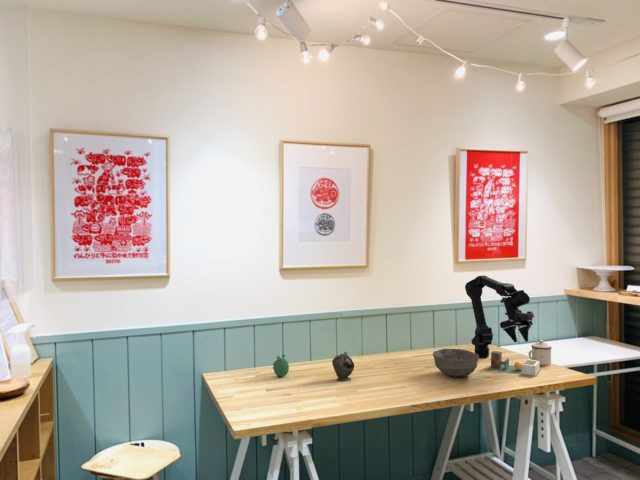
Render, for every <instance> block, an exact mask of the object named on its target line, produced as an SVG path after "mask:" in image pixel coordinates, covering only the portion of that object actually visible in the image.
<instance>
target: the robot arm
mask: <svg viewBox="0 0 640 480" xmlns="http://www.w3.org/2000/svg"><path fill="white" fill-rule="evenodd" d="M485 287H487V288H489V289H492V290H493V291H495V293H496V294H497V295H499V296H500V297H502V298H501V299H500V301H499V302H500V303H501V304H502V303H503V305H504V309H505V311H506V312H504V315H505V316H507V320H503V321H501V322H500V324H499V327H500V329H502V331H504V332H505V333H506V334H507V335H508V336H509V338H511V340H512V341H513V342H514V343H517V342H518V339H517V332H516V329H518V331H519V333H520V334H521V337H522V338H523V340H524V341H525V342H526V343H528V342H529V331H530V329H531V328H532V326H533V325H534V323H533V318H535V315H534V313H533V311H531V310H530V311H528V310H527V311H526V312H522V310H521V309H520V308H519V307H523V306H525V305H528V304H529V303H530V301H531V299H530V296H529V294H528V293H527V292H525V291H524V290H523V289H520V290H518V289H517V288H516V287H515V285H514V284H512V283H507V282H506V283H505V282H501V281H498V280H495V279H494V278H490V277H489V276H487V275H478V276H475V278H473V279H471V280H469V281H467V283H466V284H465V285H464V288H465V293H466V295H467V296H468V298H469V299H470V300H471V304H472V305H471V306H472V310H473V315H474V319H475V325H476V327H475V331H474V336H473V338H472V339H471V344H472V345H473V346H474V353H476V354H477V355H479V358H482V359H487V358H488V357H489V356H490V347H489V345H492V341H493V337H494V333H493V331H492V327H489V326H488V325H487V321H486V317H485V312H484V308H483V302H482V299H481V297H482V295H483V289H484V288H485Z"/></svg>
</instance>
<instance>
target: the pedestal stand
mask: <svg viewBox="0 0 640 480" xmlns="http://www.w3.org/2000/svg"><path fill="white" fill-rule="evenodd" d="M502 353H503V352H502V351H497V350H493V351H491V352H490V368H491V367H493V368H500V367H501V366H502V365H504V370H506V369H507V368H508V367H509V365H510V358H506V359H504V360H503V359H502V356H503V354H502Z"/></svg>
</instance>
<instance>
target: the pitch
mask: <svg viewBox="0 0 640 480" xmlns="http://www.w3.org/2000/svg"><path fill="white" fill-rule="evenodd" d="M488 371H491V372H499V373H500V372H501V373H508V374H514V375H520V376H526V377H527V376H528V377H537V376H538V375H539V374H540V372H541V371H542V369H540V370H539V372H538V373H537V374H536V376H534V375H527V374H523V369H522V370H516V369H515V368H514V365H510V364H509V367H508V368H507V369H506V370H504V365H502V366H501V367H500V368H493V367H491V366H490V368H489V369H488Z"/></svg>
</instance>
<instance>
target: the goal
mask: <svg viewBox="0 0 640 480" xmlns="http://www.w3.org/2000/svg"><path fill="white" fill-rule="evenodd" d="M522 364H523V374H527V375H534V376H536V374H537V373H538V372H539V370H541V369H540V367H541V365H540V361H536V360H531V359H526V364H525V363H522ZM539 373H540V372H539ZM536 377H537V376H536Z"/></svg>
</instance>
